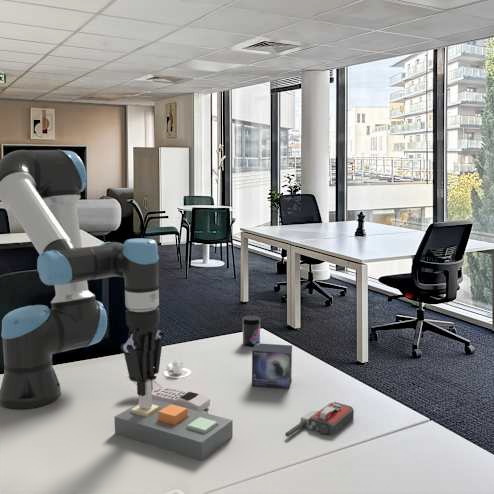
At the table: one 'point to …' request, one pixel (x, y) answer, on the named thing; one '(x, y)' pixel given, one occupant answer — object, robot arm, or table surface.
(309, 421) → the walkie-talkie
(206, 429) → the sage button
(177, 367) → the white candle holder
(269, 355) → the small box
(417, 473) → the table surface
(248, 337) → the supplement container
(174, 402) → the mobile phone
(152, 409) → the sand button
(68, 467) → the table surface
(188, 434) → the button console
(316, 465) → the table surface
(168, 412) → the orange button
